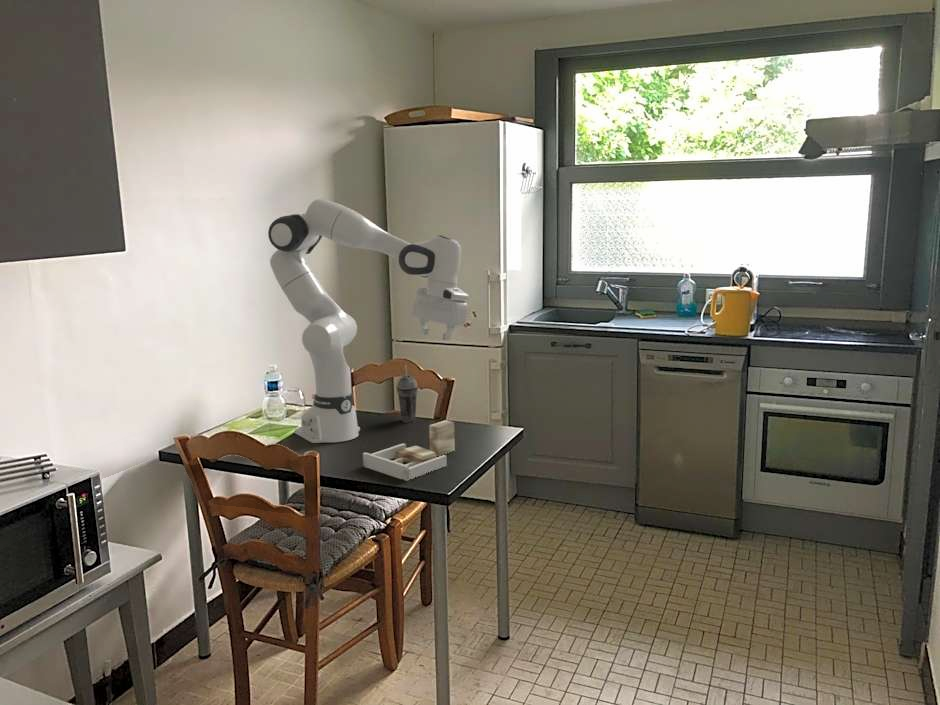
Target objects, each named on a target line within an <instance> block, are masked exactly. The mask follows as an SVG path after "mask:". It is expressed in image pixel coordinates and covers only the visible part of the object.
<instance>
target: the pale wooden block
mask: <svg viewBox="0 0 940 705" xmlns="http://www.w3.org/2000/svg"><path fill="white" fill-rule="evenodd" d="M428 429H429V450H430V451H433V452H435V455H437V456H441V455H444V454H445V455H447V453H448V454H450V452H451V453H453V452H452V451H454V452H455V451H456V444H455V443H456V442H455V441H456V440H455V436H456V435H455V422H454V421H450V420H446V419H445V420H442V421H438V422H435V423H433V424H429V428H428Z"/></svg>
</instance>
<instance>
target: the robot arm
mask: <svg viewBox="0 0 940 705" xmlns="http://www.w3.org/2000/svg"><path fill="white" fill-rule="evenodd" d="M267 233H268V239H269V242H270V243H271V245H272V246H273V247H274V248H276V251H275V252H273V254H272V255H271V257H270V259H269V265H270V268H271V270H272V273H273V275H274V277H275V279H276V281H277V283H278V285H279V286H280V289H281V290H282V292H283V293H284V295H285V296H286V298H287V299H288V301H289V303H290V304H291V306H292V307H293V310H294V311H295V312H297V314H300V315H301V316H303V317H304V318H305V319H306V320H307V321H308V322H310V324H309V325H307V327H306V328H305V329H304V330H303V333H302V335H301V342H302V345H303V347H304V349H305V350H306V351H307V352H308V353H309V355H310V356H309V357H310V359H311V362H312V365H313V369H314V377H315V378H314V380H315V392H316V393H315V394H312V395H311V396H312V397H311V399H313V403H312V405H311V407H309V408H308V409H306V411H305V412H304V413H303V414H302V415H301V419H300V421H301V422H300V424H301V425H300V426H299V427H296V428H295V429H294V431H293V432H294V434H295V435H298V436H299V437H301V438H303V439H304V440H306V441H308V442H310V443H312V444H321V443H341V442H342V443H343V442H347V441H350V440H353V439H356V438H357V437H358V436H359V435H360V433H359V432H360V431H361V427H360V426H358V425H359V424H358V419H357V418H358V417H357V410H356V408H355V406H354V405H353V404H354V402H355V401H354V397H355V396H354V393H353V391H352V377H351V376H352V374H351V373H352V372H351V368H350V366H349V365H348V363H347V361H346V359H345V355H344V347H346V346H348V345H350V343H351V342H352V341H353V340H354V338H355V337H356V336H357V331H358V325H357V322H356V320H355V319H354V318H353V317H352V316H351V315H349V314H348V313H346V312H345V311H344V310H343V309H342V308H341V306H339V305H338V304H337V303H336V302H335V300H334V299H332V297H331V296H330V295H329V294H328V293H327V291H326V290H325V288H324V287H323V285H322V283H321V281H320V280H319V279H318V277H317V276H316V274H315V272H314V271H313V269H312V268H311V266H310V264H309V262H308V261H307V257H306V256H307V255H309V254H311V253H312V251H313V250H314V248H315V247H316V246H317V245H318V244H319V242H320V241H321V240H322V238H323V237H324V238H326V239H328V240H331V241H332V242H335V243H336V244H339V245H341V246H344V247H345V246H346V247H348V248H353V249H361V250H369V251H376V252H379V253H381V254H385V255H387V256H389V257H391V258H394V259H395V260H397V261H398V265H399V267H400V269H401V270H402V272H404V273H405V274H407V275H409V276H412V277H421V278H428V279H427V285H426V288H425V287H420V288H418V290H416V294H415V297H414V300H413V303H412V308H411V315H412V317H413V318H416V319H419V325H420V328H421V329H420V334H421V335H424V336H425V335H426V336H427V335H429V332H430V331H429V330H430V329H429V328H428V326H427V324H428V321H430V322H432V323H433V322H434V323H438V324H443V325H446V327H445V328H446V331H445V333H443V334H442V340H444V341H450V340H451V335H452V334H453V332H454V331H455V329H456V328H463V327H464V326H465V324H467V319H468V318H467V316H468V304H467V302H469V294H468V293H466V292H465V291H463V290H462V289H461V288H459V287H458V274H459V271H460V269H461V263H462V262H461V261H462V260H461V259H462V245H461V244H460V242H459V241H458V240H456V239H455V238H451V237H448V236H445V235H440V234H439V235H438V234H437V235H436V236H435V237H433V238H430V239H428V240H425V241H422V242H421V241H420V242H415V243H412V242H409V241H406V240H404V239H403V238H401V237H398V236H395V235H394V234H391V233H389V232H387V231H386V230H383V229H382V228H381V227H379V226H378V225H377V224H375V223H374V222H372V221H371V220H370V219H368V218H367V217H365V216H364V215H362V214H361V213H359V212H358V211H356V210H353V209H351V208H349V207H348V206H345V205H343V204H340V203H337V202H334V201H332V200H328V199H323V198H319V199H316V200H313V201H311V203H309V206H308V207H307V209H306V212H305V213H301V214H300V213H293V214H289V215H284V216H283V215H282V216H280V217H278V218H276V219H274V221H272V223H271V224H270V225H269V227H268V232H267Z"/></svg>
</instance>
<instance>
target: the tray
mask: <svg viewBox="0 0 940 705" xmlns="http://www.w3.org/2000/svg"><path fill="white" fill-rule="evenodd" d="M406 447H407V444H406V443H400V444H397V445H396V444H395V445H394V446H391V447H389V448H388V447H387V448H385V449H381V450H379V451H375V452H373V453H369V452H363V453H362V462H363V463H362V465H363V466H364V468H367V469H369V470H372V471H375V472H378V473H382V474H385V475H387V476H391V477H393V478H396V479H399V480H402V479H403V481H406V482H408V481H411V480H413V479H415V477H416V478H418V476H419V477H421V476H424V475H427V474H429V473H432V472H434V470H435V471H437V470H440V469H442V467H443V468H444V467H447V466H448V462H447V461H448V460H447V455H446V454H445V455H442V456H439V457H436V458H434V459H431V460H428V461H425V462H423V463H420V464H417V465H415V462H411V463H405V464H404V462H403V458H399V459H395V455H396V451H398V450H401V449H404V448H406ZM393 459H394V460H393ZM431 471H432V472H431ZM428 472H429V473H428ZM426 473H427V474H426ZM410 479H411V480H410Z"/></svg>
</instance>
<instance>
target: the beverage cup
mask: <svg viewBox="0 0 940 705" xmlns="http://www.w3.org/2000/svg"><path fill="white" fill-rule="evenodd" d="M404 370H405V375H403V376H402V377H401V378H399V380H398V382H397V385H396V392H397V394H398V400H399V411H400V417H401V422H402V421H403V423H412V421H413V420H415V421H416V413H417V412H416V411H417V397H418V396H417V395H418V389H419V386H418V383H417V380H416V379H415V378H414V377H413V376H411V375H408V371H407V370H408V367H407V363H405V364H404Z"/></svg>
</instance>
